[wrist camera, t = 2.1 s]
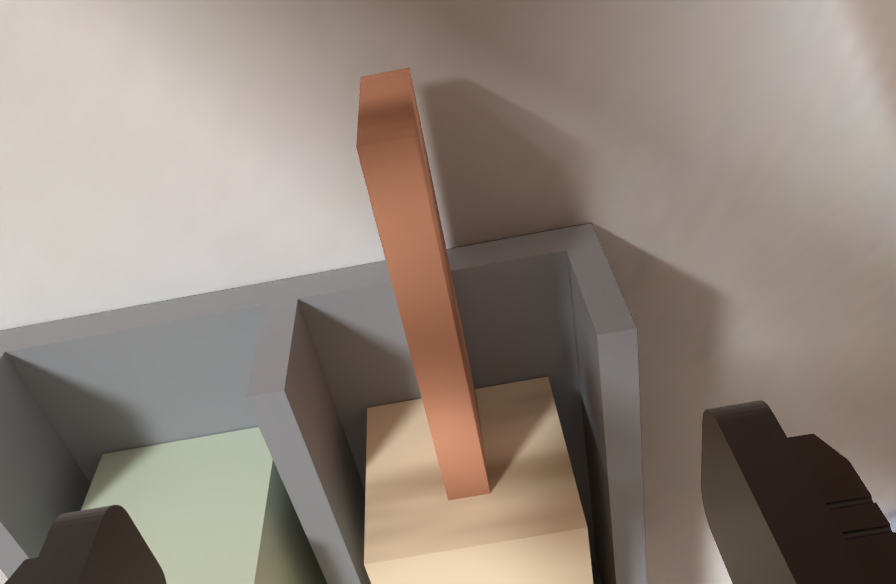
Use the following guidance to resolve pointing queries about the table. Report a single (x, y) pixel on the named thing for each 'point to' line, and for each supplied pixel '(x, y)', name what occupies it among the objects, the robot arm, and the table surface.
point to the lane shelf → (327, 388)
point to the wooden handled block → (453, 405)
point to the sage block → (210, 510)
